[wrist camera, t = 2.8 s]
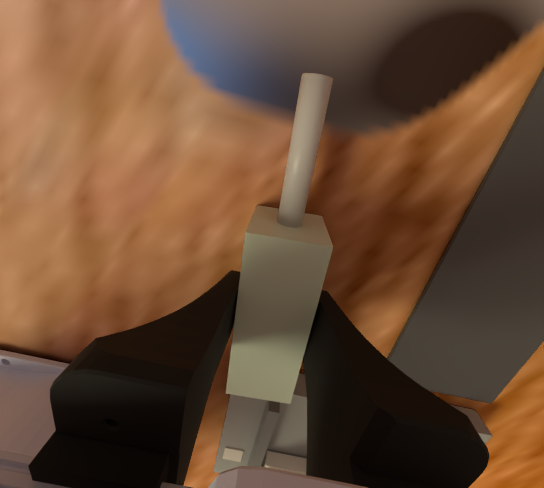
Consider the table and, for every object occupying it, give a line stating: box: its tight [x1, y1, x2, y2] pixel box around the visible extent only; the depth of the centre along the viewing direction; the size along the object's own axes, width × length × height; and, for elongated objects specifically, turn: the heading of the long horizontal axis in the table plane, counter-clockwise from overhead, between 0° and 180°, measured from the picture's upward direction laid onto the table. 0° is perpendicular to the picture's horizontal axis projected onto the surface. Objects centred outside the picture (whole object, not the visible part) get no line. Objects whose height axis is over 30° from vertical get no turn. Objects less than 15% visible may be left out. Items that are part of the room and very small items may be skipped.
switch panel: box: [213, 373, 492, 473], centre depth 17 cm, size 15×9×2 cm, turn 78°
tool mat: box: [387, 68, 544, 403], centre depth 12 cm, size 7×18×1 cm, turn 168°
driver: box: [226, 73, 333, 404], centre depth 11 cm, size 3×13×4 cm, turn 171°
